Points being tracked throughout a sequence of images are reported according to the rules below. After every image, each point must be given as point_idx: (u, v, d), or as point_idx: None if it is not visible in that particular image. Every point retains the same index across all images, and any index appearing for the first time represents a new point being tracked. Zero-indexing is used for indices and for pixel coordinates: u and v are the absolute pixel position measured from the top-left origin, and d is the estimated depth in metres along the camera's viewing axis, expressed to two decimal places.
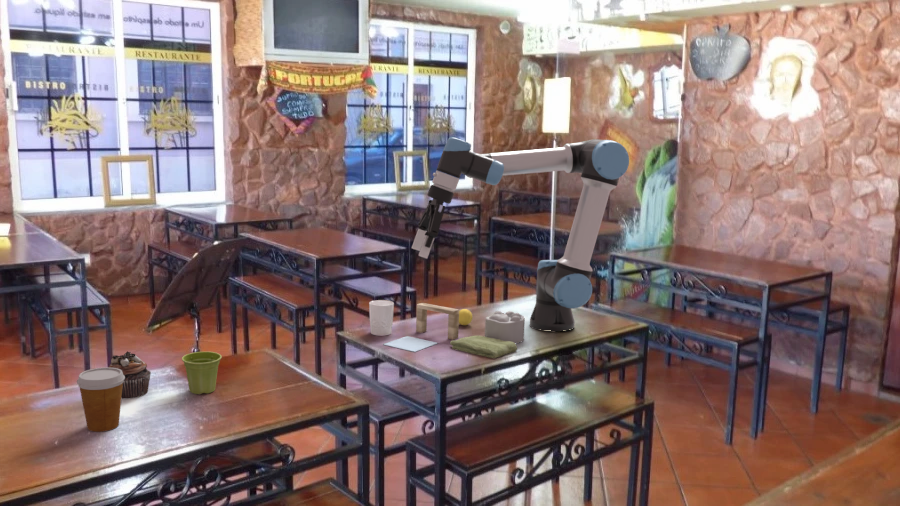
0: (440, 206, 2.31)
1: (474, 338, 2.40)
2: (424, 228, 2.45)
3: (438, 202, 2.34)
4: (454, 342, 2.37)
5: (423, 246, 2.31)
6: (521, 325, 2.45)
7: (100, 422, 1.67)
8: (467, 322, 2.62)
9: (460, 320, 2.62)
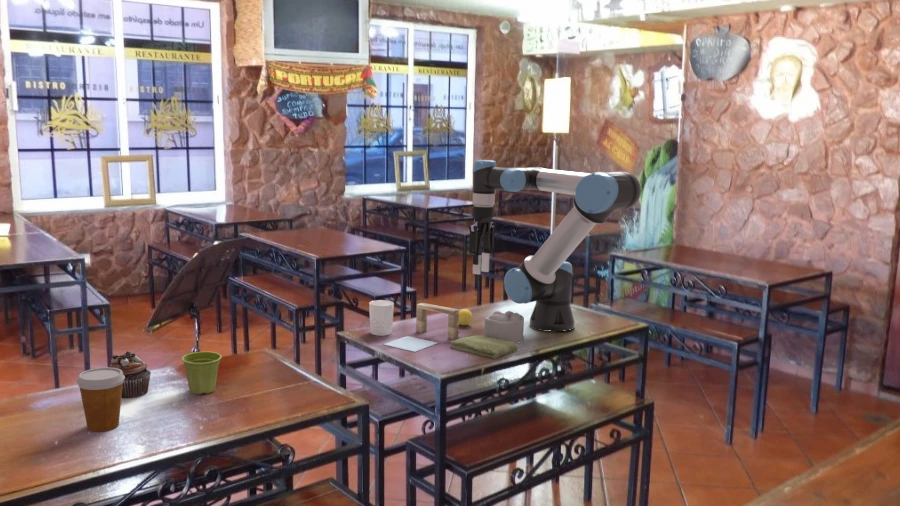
0: (471, 227, 2.62)
1: (474, 338, 2.40)
2: (487, 251, 2.71)
3: None
4: (454, 342, 2.37)
5: None
6: (520, 325, 2.45)
7: (100, 422, 1.67)
8: (467, 322, 2.62)
9: (460, 320, 2.62)
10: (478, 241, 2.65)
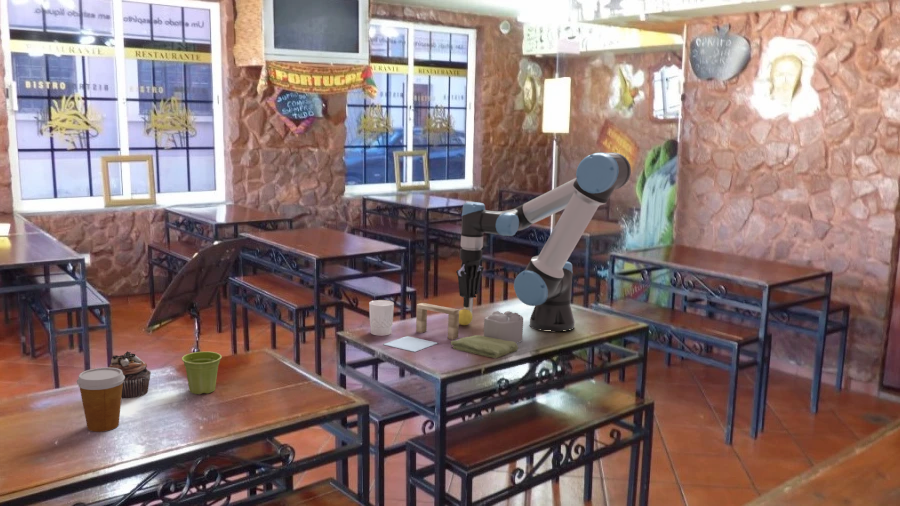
0: (458, 273, 2.60)
1: (475, 338, 2.40)
2: (471, 295, 2.67)
3: None
4: (455, 342, 2.37)
5: (464, 306, 2.67)
6: (520, 325, 2.45)
7: (100, 422, 1.67)
8: (467, 322, 2.62)
9: (460, 320, 2.62)
10: (467, 284, 2.64)
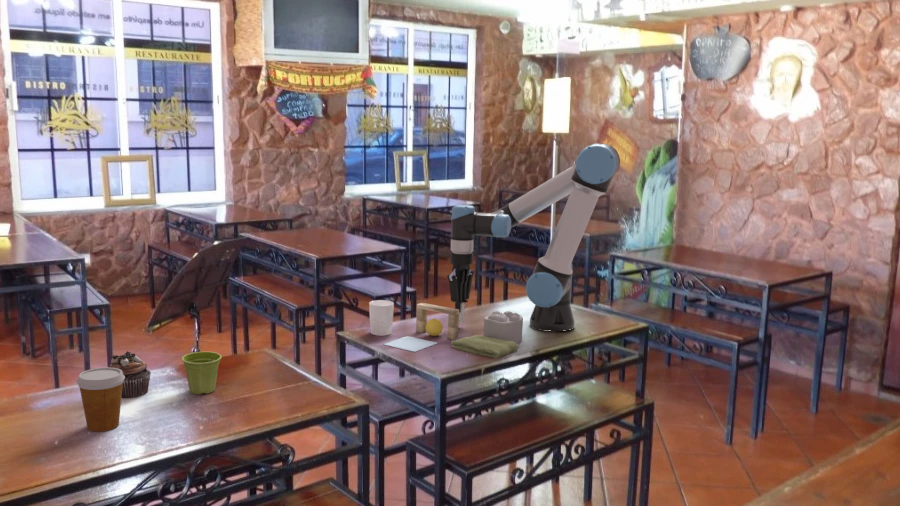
0: (449, 277, 2.54)
1: (475, 338, 2.40)
2: (462, 300, 2.61)
3: (452, 269, 2.55)
4: (455, 342, 2.37)
5: None
6: (520, 325, 2.45)
7: (100, 422, 1.67)
8: (437, 332, 2.48)
9: (430, 329, 2.48)
10: (459, 289, 2.58)
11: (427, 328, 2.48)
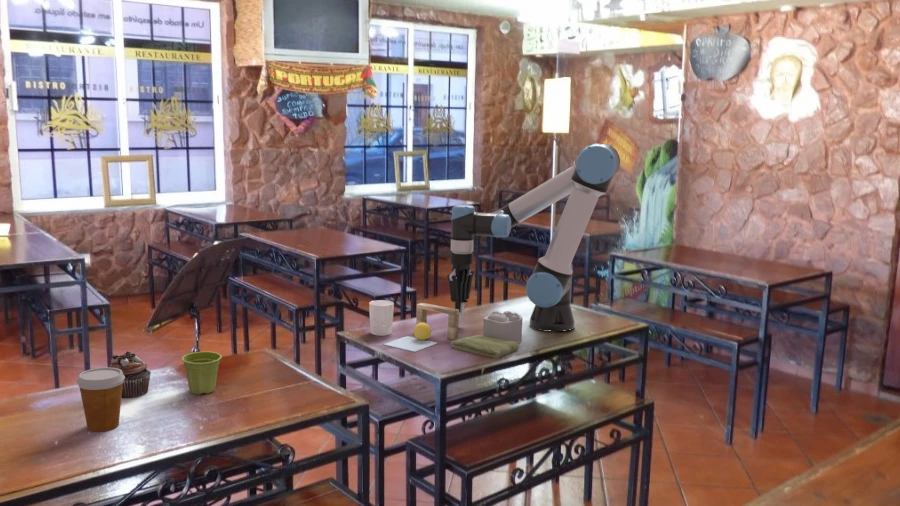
0: (449, 277, 2.54)
1: (475, 338, 2.40)
2: (462, 300, 2.61)
3: (452, 269, 2.55)
4: (455, 342, 2.37)
5: None
6: (519, 325, 2.45)
7: (100, 422, 1.67)
8: None
9: None
10: (459, 289, 2.58)
11: None
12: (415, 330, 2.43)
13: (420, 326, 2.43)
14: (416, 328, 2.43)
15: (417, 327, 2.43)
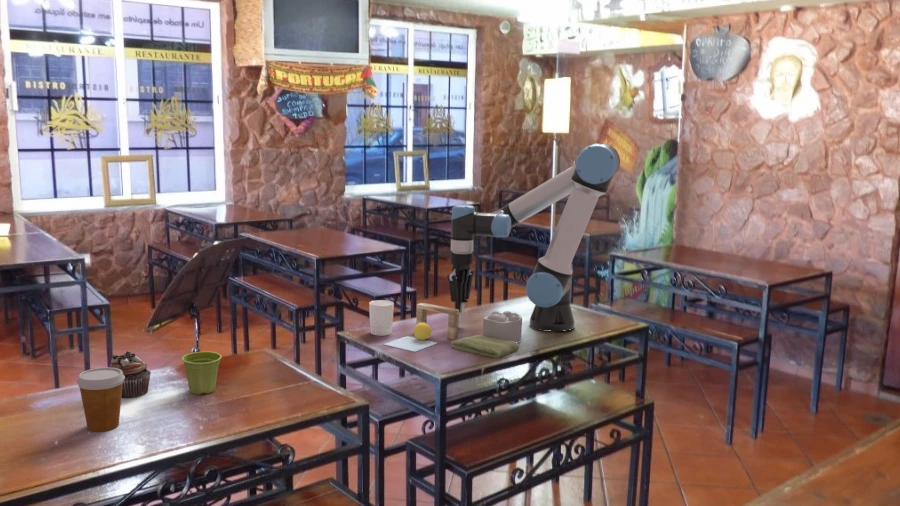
0: (449, 277, 2.54)
1: (475, 338, 2.40)
2: (462, 300, 2.61)
3: (452, 269, 2.55)
4: (456, 342, 2.37)
5: None
6: (519, 325, 2.45)
7: (100, 422, 1.67)
8: None
9: None
10: (459, 289, 2.58)
11: None
12: (415, 330, 2.43)
13: (420, 326, 2.43)
14: (416, 328, 2.43)
15: (417, 327, 2.43)
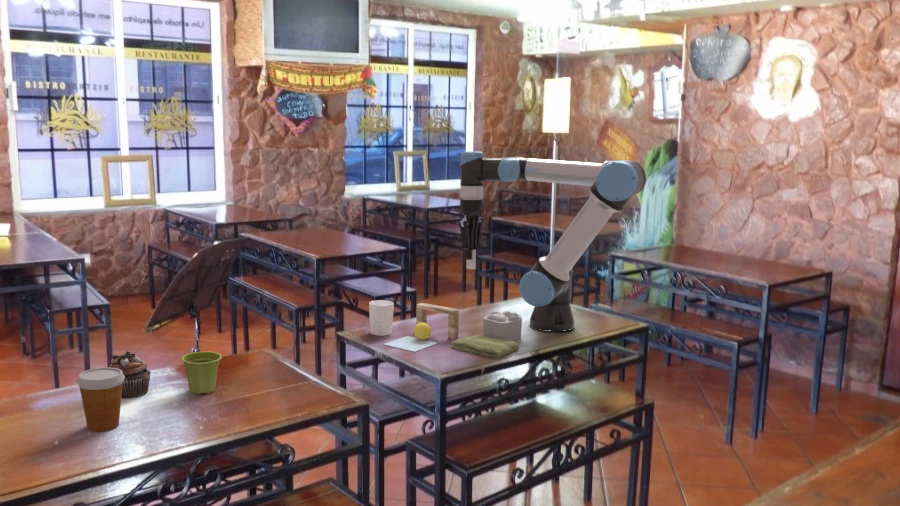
0: (461, 223, 2.54)
1: (475, 338, 2.40)
2: (473, 247, 2.61)
3: (463, 215, 2.55)
4: (456, 342, 2.37)
5: None
6: (519, 325, 2.45)
7: (100, 422, 1.67)
8: None
9: None
10: (470, 236, 2.58)
11: None
12: (415, 330, 2.43)
13: (420, 326, 2.43)
14: (416, 328, 2.43)
15: (417, 327, 2.43)
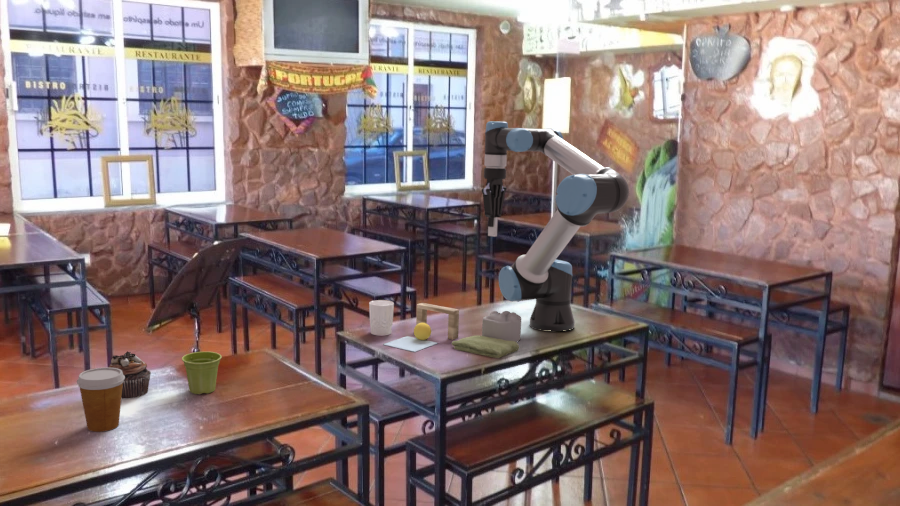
0: (484, 191, 2.62)
1: (475, 338, 2.40)
2: (495, 215, 2.68)
3: (486, 183, 2.63)
4: (456, 342, 2.37)
5: (489, 227, 2.69)
6: (518, 324, 2.46)
7: (100, 422, 1.67)
8: None
9: None
10: (492, 203, 2.65)
11: None
12: (415, 330, 2.43)
13: (420, 326, 2.43)
14: (416, 328, 2.43)
15: (417, 327, 2.43)
